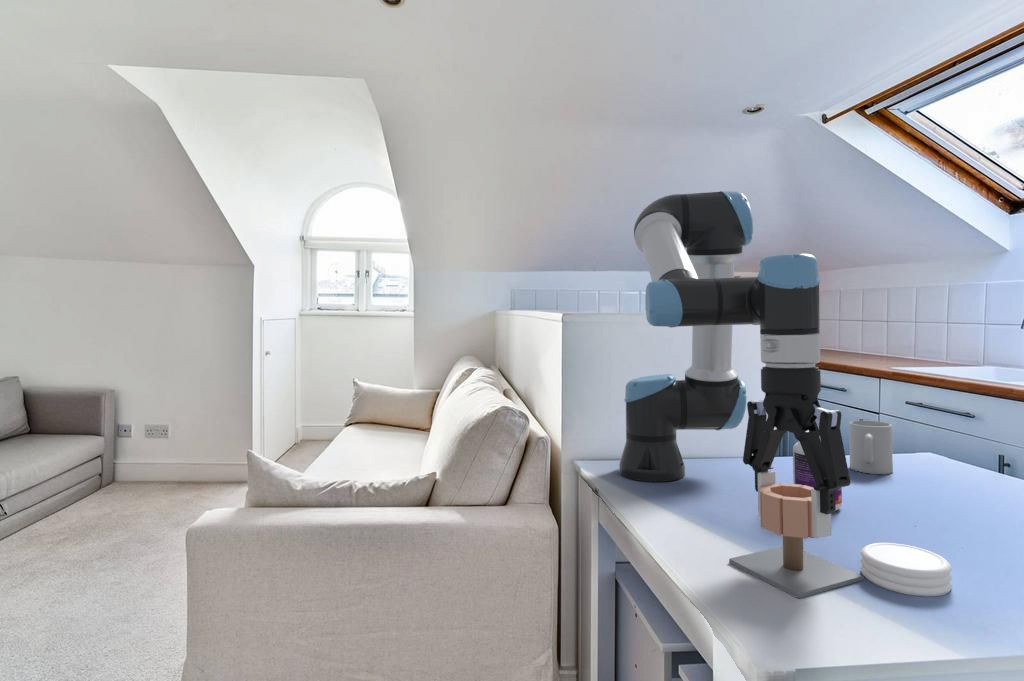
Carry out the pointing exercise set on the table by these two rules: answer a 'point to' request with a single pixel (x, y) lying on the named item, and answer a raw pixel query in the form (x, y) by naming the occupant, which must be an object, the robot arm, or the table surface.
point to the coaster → (906, 569)
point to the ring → (786, 509)
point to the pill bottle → (808, 473)
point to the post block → (795, 569)
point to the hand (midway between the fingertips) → (793, 525)
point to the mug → (871, 447)
